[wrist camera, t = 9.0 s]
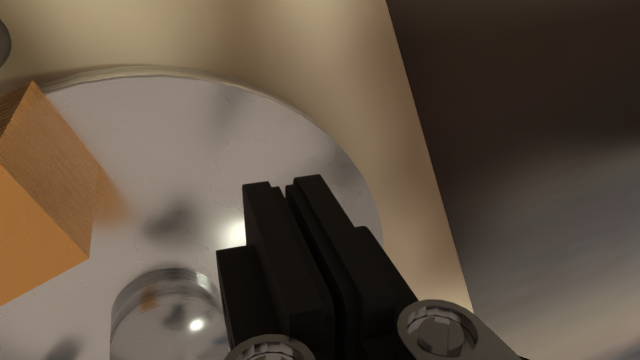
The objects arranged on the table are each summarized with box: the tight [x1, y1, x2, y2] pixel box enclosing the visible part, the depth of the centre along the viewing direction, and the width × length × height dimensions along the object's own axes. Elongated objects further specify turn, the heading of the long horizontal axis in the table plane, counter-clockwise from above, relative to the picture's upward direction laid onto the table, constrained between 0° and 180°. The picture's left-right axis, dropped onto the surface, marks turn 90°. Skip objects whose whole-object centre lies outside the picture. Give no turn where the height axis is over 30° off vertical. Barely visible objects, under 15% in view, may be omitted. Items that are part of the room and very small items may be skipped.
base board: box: [0, 0, 474, 313], centre depth 19 cm, size 25×25×6 cm
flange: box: [0, 65, 383, 360], centre depth 17 cm, size 18×18×6 cm
